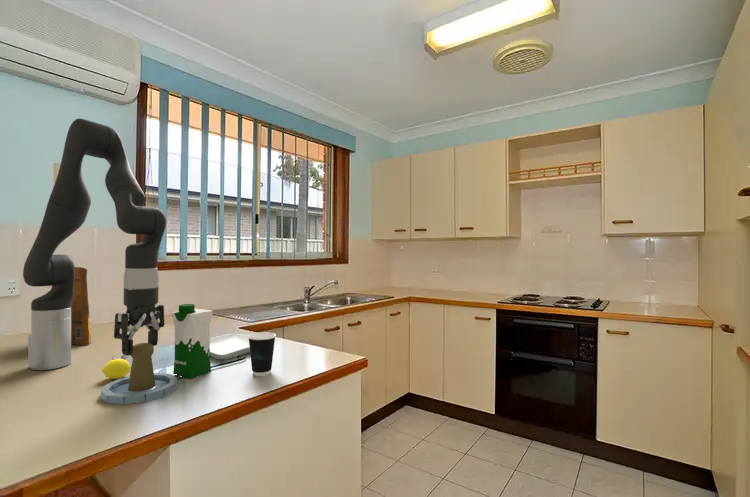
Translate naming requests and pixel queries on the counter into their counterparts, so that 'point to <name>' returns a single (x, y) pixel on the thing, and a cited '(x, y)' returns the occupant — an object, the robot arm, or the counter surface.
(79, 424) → the counter surface
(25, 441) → the counter surface
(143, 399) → the round dish
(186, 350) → the milk carton
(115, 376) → the lemon
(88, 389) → the counter surface
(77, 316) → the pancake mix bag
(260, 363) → the dixie cup
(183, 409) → the counter surface
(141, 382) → the tan pawn shape
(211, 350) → the salad plate
